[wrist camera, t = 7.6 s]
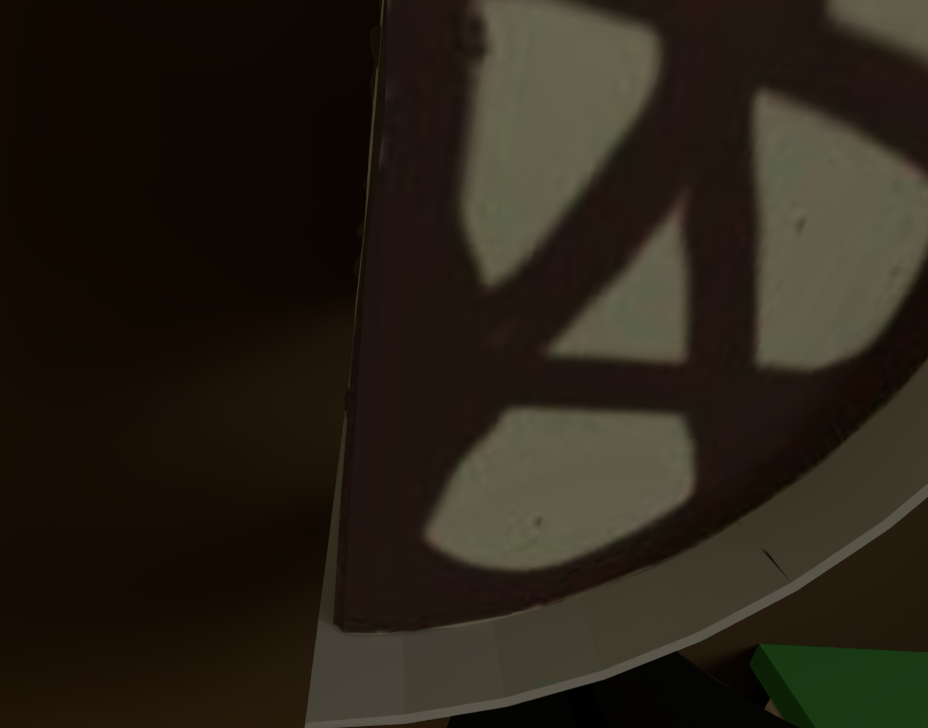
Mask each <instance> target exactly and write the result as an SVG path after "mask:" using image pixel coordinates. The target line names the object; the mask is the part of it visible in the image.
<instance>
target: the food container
mask: <svg viewBox="0 0 928 728" xmlns="http://www.w3.org/2000/svg"><path fill="white" fill-rule="evenodd" d="M379 7H380V14H381V22H380V25H377V26H374V27H373V29H372V30H371V31H370V48H371V51H372V55H373V58H374V61H375V64H374V70H373V74H372V78H371V82H370V88H371V100H372V108H373V113H372V125H371V136H370V148H369V163H368V177H367V178H366V179H365V181H364V183H363V188H365V189H367V194H366V209H365V220H364V221H363V222H362V223H361V224H360V225H359V227H358V228H357V230H356V232H357V235H358V236H359V237H363V244H362V252H361V253H360V256H359V258H358V259H357V260H356V262H355V264H354V274H355V276H356V277H358V288H357V297H356V306H355V319H354V333H353V346H352V359H351V369H350V377H349V385H348V390H347V393H346V396H345V416H344V424H343V432H342V440H341V447H340V455H339V463H338V471H337V479H336V487H335V495H334V502H333V510H332V518H331V526H330V534H329V542H328V550H327V557H326V565H325V573H324V581H323V589H322V597H321V605H320V612H319V620H318V628H317V636H316V644H315V652H314V660H313V667H312V675H311V683H310V691H309V699H308V707H307V715H306V722H305V728H337V727H355V726H373V725H391V724H406V723H412V722H418V721H424V720H430V719H436V718H442V717H448V716H454V715H460V714H466V713H472V712H478V711H484V710H490V709H496V708H502V707H507V706H511V705H514V704H518V703H522V702H525V701H529V700H532V699H536V698H540V697H543V696H547V695H550V694H554V693H557V692H561V691H565V690H568V689H572V688H575V687H579V686H583V685H586V684H590V683H593V682H597V681H600V680H604V679H607V678H609V677H612V676H614V675H617V674H619V673H622V672H625V671H627V670H630V669H632V668H635V667H637V666H640V665H642V664H645V663H647V662H650V661H652V660H655V659H657V658H660V657H662V656H665V655H667V654H670V653H672V652H675V651H677V650H680V649H682V648H685V647H687V646H690V645H692V644H695V643H697V642H700V641H702V640H704V639H706V638H708V637H710V636H712V635H714V634H716V633H717V632H719V631H721V630H723V629H725V628H727V627H729V626H731V625H733V624H735V623H736V622H738V621H740V620H742V619H744V618H746V617H748V616H750V615H752V614H753V613H755V612H757V611H759V610H761V609H763V608H765V607H767V606H769V605H771V604H772V603H774V602H776V601H778V600H780V599H782V598H784V597H786V596H788V595H790V594H791V593H793V592H795V591H797V590H798V589H800V588H801V587H803V586H804V585H806V584H807V583H809V582H810V581H812V580H813V579H815V578H816V577H818V576H819V575H821V574H822V573H824V572H825V571H827V570H828V569H830V568H831V567H833V566H834V565H836V564H837V563H839V562H840V561H842V560H843V559H845V558H846V557H848V556H849V555H851V554H852V553H854V552H855V551H857V550H858V549H860V548H861V547H863V546H864V545H866V544H867V543H869V542H870V541H872V540H873V539H875V538H876V537H878V536H879V535H881V534H882V533H883V532H885V531H886V530H888V529H889V528H891V527H892V526H893V525H894V524H896V523H897V522H898V521H899V520H900V519H902V518H903V517H904V516H905V515H906V514H908V513H909V512H910V511H911V510H912V509H914V508H915V507H916V506H917V505H918V504H920V503H921V502H922V501H923V500H924V499H926V498H927V497H928V0H379Z"/></svg>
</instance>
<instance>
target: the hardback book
mask: <svg viewBox="0 0 928 728" xmlns="http://www.w3.org/2000/svg"><path fill="white" fill-rule="evenodd" d="M749 665H750V667H751V668H752V670H753V672H754V673H755V675H756V676H757V678H758V679H759V681H760V683H761V684H762V686H763V687H764V689H765V691H766V692H767V694H768V695H769V697H770V700H769V702H768V703H767V705H766V707H765V710H767V711H769V712H770V713H772V714H774V715H776V716H778V717H780V718H782V719H784V720H786V721H788V722H789V723H791V724H793V725H795V726H797V727H799V728H928V653H926V652H907V651H888V650H868V649H849V648H830V647H810V646H791V645H772V644H759V645H758V647H757V649H756V651H755V653H754V655H753V657H752V660H751V662H750V664H749Z"/></svg>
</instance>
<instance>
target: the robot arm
mask: <svg viewBox="0 0 928 728" xmlns="http://www.w3.org/2000/svg"><path fill="white" fill-rule="evenodd" d="M447 728H799V727H797V726H795V725H793V724H791V723H789V722H788V721H786V720H784V719H782V718H780V717H778V716H776V715H774V714H772V713H770V712H769V711H767V710H765V709H763V708H762V707H760V706H758V705H757V704H755V703H753V702H752V701H750V700H748V699H746V698H745V697H743V696H741V695H740V694H738V693H737V692H735V691H734V690H732V689H731V688H729V687H728V686H726V685H725V684H723V683H722V682H720V681H719V680H717V679H716V678H714V677H713V676H711V675H710V674H708V673H707V672H705V671H704V670H702V669H701V668H699V667H698V666H696V665H695V664H694V663H692V662H691V661H690V660H688V659H687V658H686V657H684V656H683V655H682V654H680V653H679V652H678V651H675V652H672V653H670V654H667V655H665V656H662V657H660V658H657V659H655V660H652V661H650V662H647V663H645V664H642V665H640V666H637V667H635V668H632V669H630V670H627V671H625V672H622V673H619V674H617V675H614V676H612V677H609V678H607V679H604V680H600V681H597V682H593V683H590V684H586V685H583V686H579V687H575V688H572V689H568V690H565V691H561V692H557V693H554V694H550V695H547V696H543V697H540V698H536V699H532V700H529V701H525V702H522V703H518V704H514V705H511V706H507V707H502V708H496V709H490V710H484V711H478V712H472V713H466V714H460V715H454V716H451V718H450V721H449V723H448V725H447Z"/></svg>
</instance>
